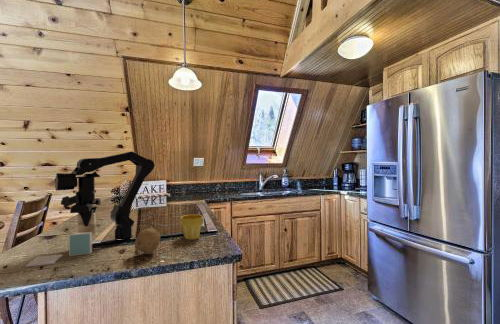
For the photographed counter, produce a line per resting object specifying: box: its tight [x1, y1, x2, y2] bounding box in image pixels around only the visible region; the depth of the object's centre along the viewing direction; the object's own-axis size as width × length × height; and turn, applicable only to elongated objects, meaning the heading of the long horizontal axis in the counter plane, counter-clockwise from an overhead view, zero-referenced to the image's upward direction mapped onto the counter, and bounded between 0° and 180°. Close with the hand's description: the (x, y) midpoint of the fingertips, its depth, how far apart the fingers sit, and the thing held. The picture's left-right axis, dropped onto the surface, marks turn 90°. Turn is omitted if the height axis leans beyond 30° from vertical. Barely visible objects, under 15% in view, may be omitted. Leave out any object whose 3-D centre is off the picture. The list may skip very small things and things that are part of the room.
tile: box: [68, 232, 93, 257], centre depth 98 cm, size 7×2×8 cm, turn 108°
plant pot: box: [180, 214, 204, 240], centre depth 117 cm, size 10×10×10 cm
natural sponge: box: [134, 228, 161, 256], centre depth 97 cm, size 9×9×10 cm
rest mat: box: [25, 253, 64, 268], centre depth 91 cm, size 8×8×1 cm
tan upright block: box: [77, 212, 97, 237], centre depth 105 cm, size 6×5×9 cm
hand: (87, 225), depth 105 cm, fingers closed on tan upright block
